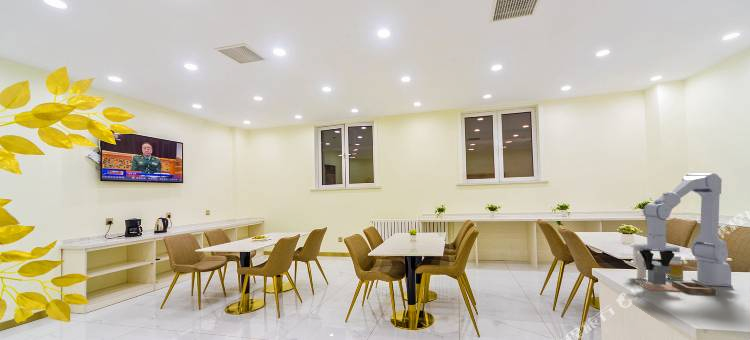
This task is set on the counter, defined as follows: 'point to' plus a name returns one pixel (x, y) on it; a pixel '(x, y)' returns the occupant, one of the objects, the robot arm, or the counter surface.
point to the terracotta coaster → (657, 286)
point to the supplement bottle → (676, 268)
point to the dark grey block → (658, 273)
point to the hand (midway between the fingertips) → (656, 270)
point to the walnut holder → (694, 288)
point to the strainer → (639, 262)
